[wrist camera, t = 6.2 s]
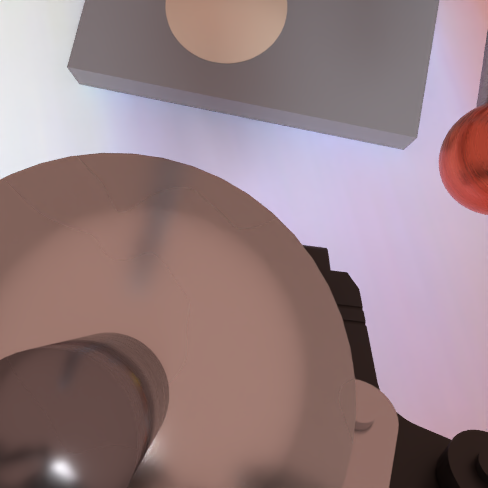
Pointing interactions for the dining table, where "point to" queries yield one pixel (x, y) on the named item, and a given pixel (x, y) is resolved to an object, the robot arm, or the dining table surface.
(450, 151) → the lever
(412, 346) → the dining table surface
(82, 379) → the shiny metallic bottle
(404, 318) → the dining table surface
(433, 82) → the dining table surface
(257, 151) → the dining table surface
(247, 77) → the press
